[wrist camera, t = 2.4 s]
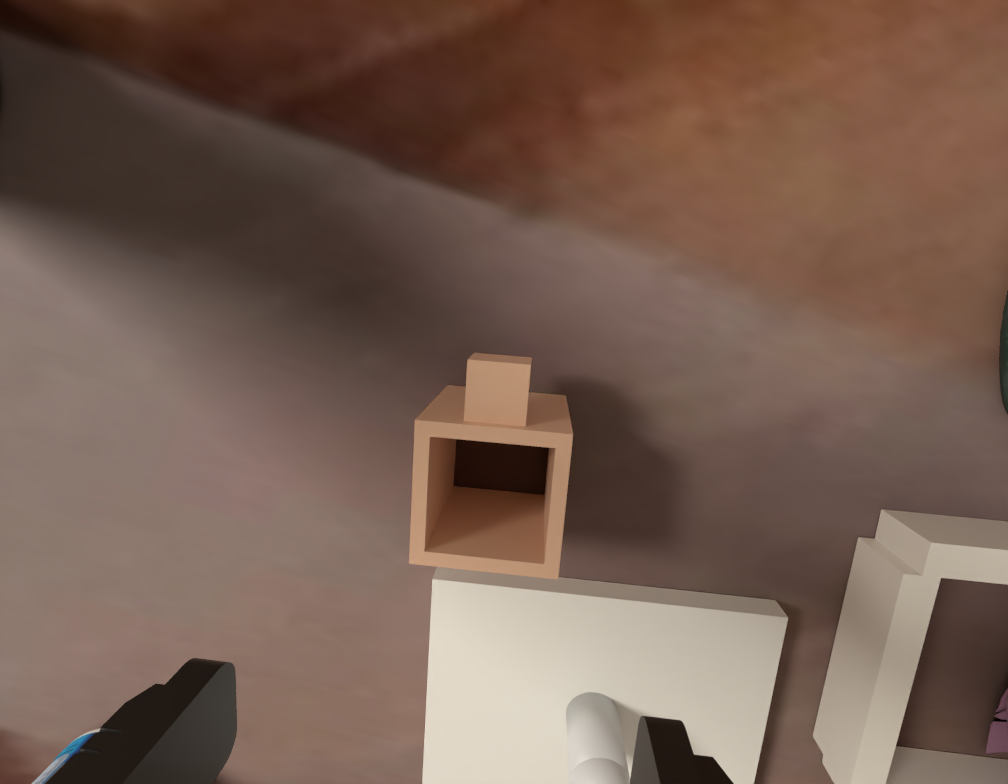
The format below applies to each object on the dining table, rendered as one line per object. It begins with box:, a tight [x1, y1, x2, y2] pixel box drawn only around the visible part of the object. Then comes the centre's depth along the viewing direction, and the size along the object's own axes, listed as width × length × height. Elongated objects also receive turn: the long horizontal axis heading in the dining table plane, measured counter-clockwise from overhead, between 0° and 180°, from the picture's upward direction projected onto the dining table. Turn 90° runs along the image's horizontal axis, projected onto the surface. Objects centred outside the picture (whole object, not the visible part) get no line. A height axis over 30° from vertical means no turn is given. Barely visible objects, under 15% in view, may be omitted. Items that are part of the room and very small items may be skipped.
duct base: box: [422, 567, 788, 784], centre depth 27 cm, size 14×18×7 cm
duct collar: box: [409, 353, 573, 580], centre depth 24 cm, size 6×8×7 cm
